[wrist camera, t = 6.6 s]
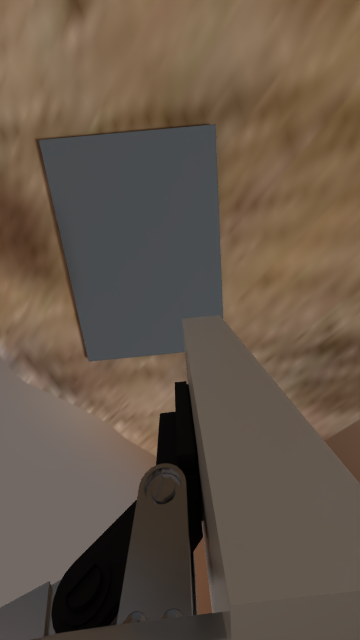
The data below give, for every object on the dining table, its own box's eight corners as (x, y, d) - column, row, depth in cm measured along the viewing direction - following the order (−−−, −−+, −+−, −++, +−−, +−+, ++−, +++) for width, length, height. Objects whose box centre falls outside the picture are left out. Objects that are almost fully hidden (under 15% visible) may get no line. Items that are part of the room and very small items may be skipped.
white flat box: (181, 318, 11) (230, 604, 2) (219, 315, 11) (441, 581, 2) (193, 452, 13) (241, 869, 4) (225, 449, 13) (339, 857, 4)
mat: (42, 143, 21) (38, 140, 20) (214, 127, 21) (215, 124, 20) (90, 359, 27) (88, 361, 26) (223, 346, 27) (224, 347, 26)
